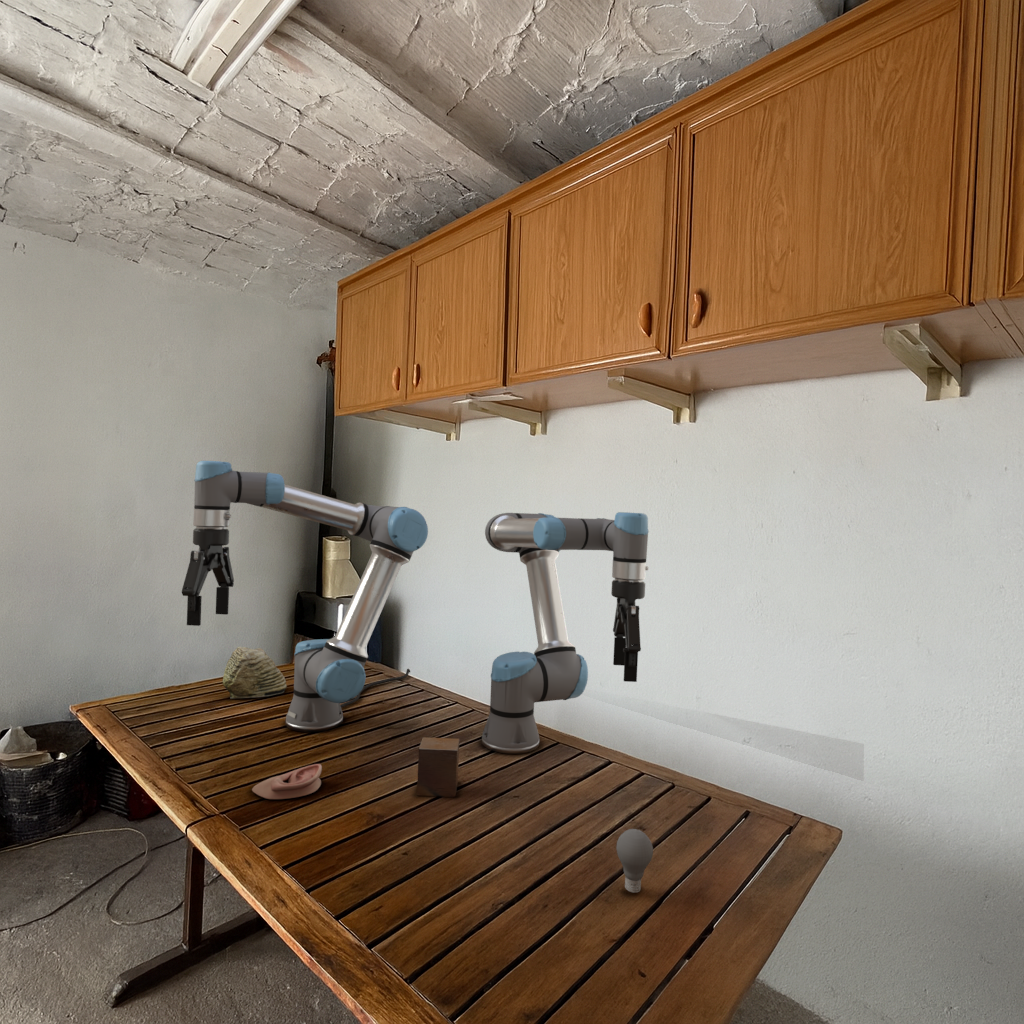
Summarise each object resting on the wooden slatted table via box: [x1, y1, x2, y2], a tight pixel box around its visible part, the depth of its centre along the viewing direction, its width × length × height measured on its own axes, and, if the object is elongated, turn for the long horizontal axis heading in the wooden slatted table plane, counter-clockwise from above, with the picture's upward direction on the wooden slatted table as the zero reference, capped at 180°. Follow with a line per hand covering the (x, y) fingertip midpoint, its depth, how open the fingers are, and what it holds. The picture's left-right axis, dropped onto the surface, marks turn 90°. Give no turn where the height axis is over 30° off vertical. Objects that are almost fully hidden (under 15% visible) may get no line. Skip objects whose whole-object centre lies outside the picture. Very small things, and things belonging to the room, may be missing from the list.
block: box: [416, 737, 460, 798], centre depth 139 cm, size 8×6×10 cm
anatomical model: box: [251, 763, 323, 800], centre depth 137 cm, size 13×4×12 cm
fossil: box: [222, 646, 288, 699], centre depth 198 cm, size 9×18×15 cm, turn 132°
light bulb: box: [615, 828, 654, 894], centre depth 106 cm, size 6×6×10 cm
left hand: (208, 619), depth 147 cm, fingers open, 13 cm apart
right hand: (624, 672), depth 145 cm, fingers open, 13 cm apart
